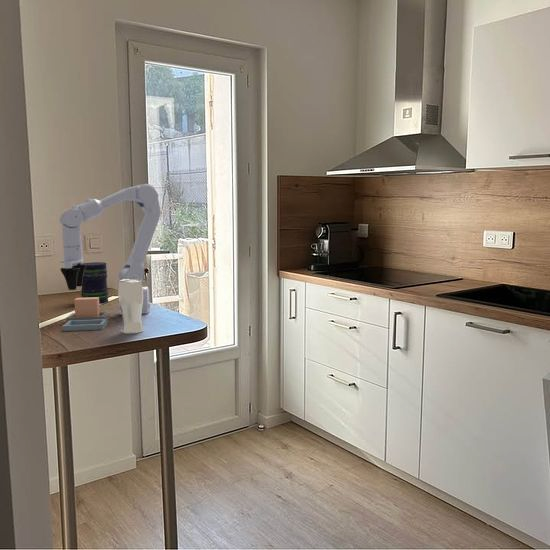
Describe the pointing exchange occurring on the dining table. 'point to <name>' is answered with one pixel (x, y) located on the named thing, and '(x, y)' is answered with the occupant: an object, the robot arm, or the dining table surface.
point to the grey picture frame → (85, 325)
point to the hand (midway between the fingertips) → (75, 288)
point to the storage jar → (95, 281)
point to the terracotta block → (87, 307)
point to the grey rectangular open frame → (72, 317)
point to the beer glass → (131, 305)
